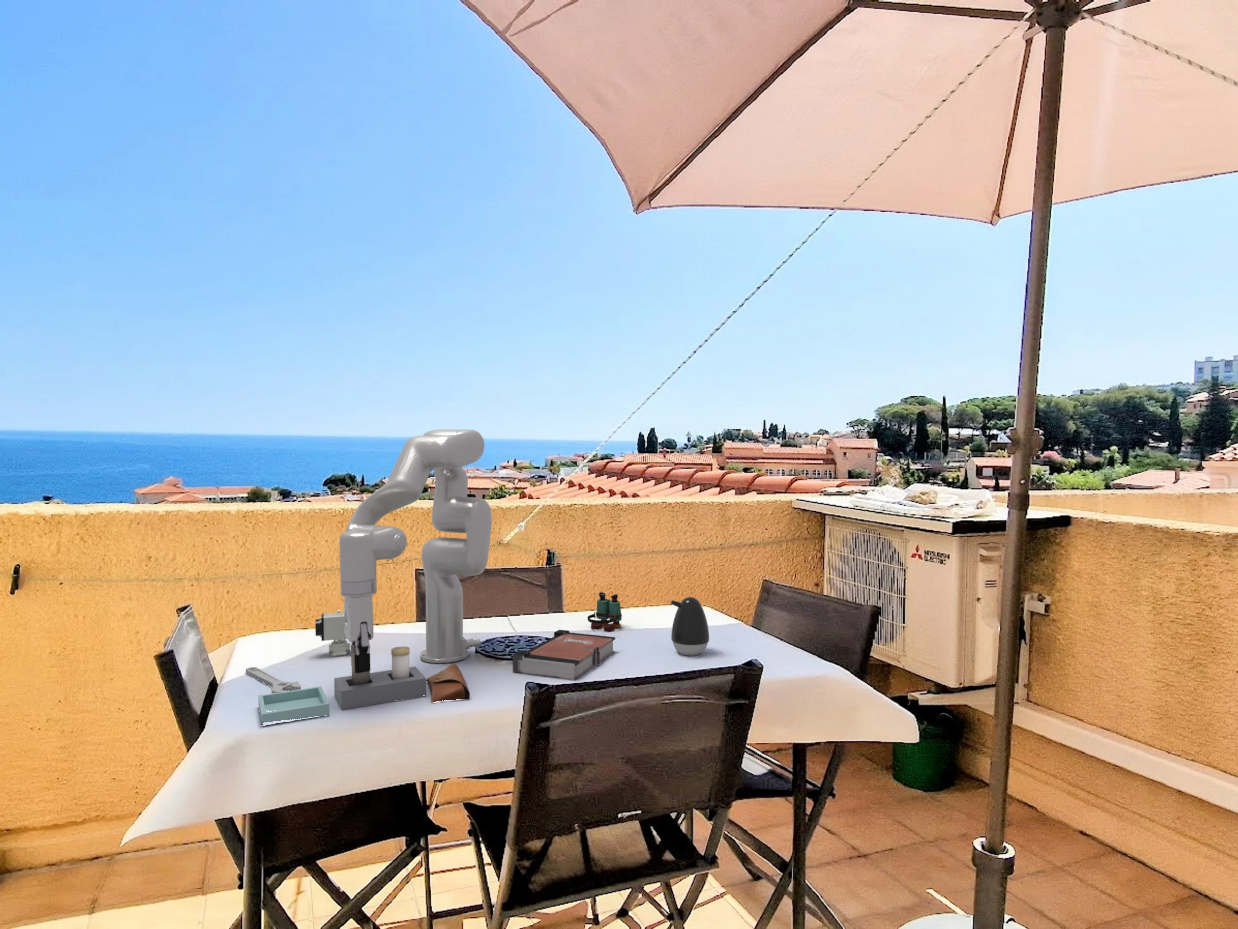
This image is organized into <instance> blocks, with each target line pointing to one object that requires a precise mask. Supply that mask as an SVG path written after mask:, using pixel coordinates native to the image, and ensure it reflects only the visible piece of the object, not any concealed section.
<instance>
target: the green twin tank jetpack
mask: <svg viewBox="0 0 1238 929" xmlns="http://www.w3.org/2000/svg"><path fill="white" fill-rule="evenodd" d="M618 595H619V594H617V593H616V594H613V595H611V596H610V599H607V598H606V596H607V595H606V593H605V592H603V591H599V592H598V597H599V599H597V600H596V611H593V613H592V614H590V615H588V616H587V621H588V622H589V623H590V629H592V630H594V631H596V630H597V631H598V630H601V629H602V628H603V632H611V631H613V630H615V629H618V628H621V627H622V624H621V623H620V622H621V621H622V620H623V619H622V617H623V615H622V608H621V602H620V601H619V600H618V598H619V596H618Z"/></svg>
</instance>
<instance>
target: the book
mask: <svg viewBox="0 0 1238 929" xmlns="http://www.w3.org/2000/svg"><path fill="white" fill-rule="evenodd" d="M615 640H616V637H615V636H607V635H599V634H598V635H597V634H590V633H589V634H588V633H577V632H570V630H566V629H558V630H556V631H554V632H553V636H552V637H551V638H549V639H547V640H545V641H543V642H542V643H539V644H538V645H536V646H534V647H532V648H531V649H528V650H527V651H521V650H518V651H517V652H514V653H513V654H512V673H513V674H519V675H529V676H535V677H543V678H550V679H559V680H566V681H574V682H575V681H577V680H578V679H579V678H580V677H582V676H583V675H585V674H586V673H588V672H589V671H591V670H592V669H593V668H594V667H598V666H599V665H600V664H601V662H604V660H606V659H607V658H609V656H611V655H612V654H614V653H616V651H615V650H614V641H615Z"/></svg>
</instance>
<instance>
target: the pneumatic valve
mask: <svg viewBox="0 0 1238 929" xmlns="http://www.w3.org/2000/svg"><path fill="white" fill-rule="evenodd" d="M314 622H315V625H314V626H315V632H314V633H315V637H320V638H321V642H324V641H331V644H329V645H328V654H330V655H331V657H333V656H335V657H344V655H345V656H348V653H351V642H348V639H347V637H346V636H345V634H344V611H342V610H341V609H337V611H336V612H329V613H321V616H320V618H317V619H315V621H314Z"/></svg>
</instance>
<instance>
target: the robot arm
mask: <svg viewBox="0 0 1238 929" xmlns="http://www.w3.org/2000/svg"><path fill="white" fill-rule="evenodd" d="M484 440H485V439H484V438H483V436H482V434H481V433H480V432H478V431H477V430H474V429H433V430H429V431H427V432H425V433H424V434H423V435H415V436H412V437H410V438H408V439H407V440H406V442H405V443H404V445H403V446H402V449H401V451H400V454H399V456H398V457H397V460H396V461H395V464H394V466H393V468H392V470H391V472H390V475H389V477H388V478H387V481H386V483H385V484H384V485H383V486H380V487H379V488H378V489H376V490H375V491H374V492H373V493H372V494H371V495H369V496H368V497H367V498H366V499H364V500H363V501H362V502H361V503H359V505H358V506H357V507H356V509H355V511H354V512H353V514H352V516H351V518H350V520H349V522H348V523H347V526H346V529H345V531H344V532H342V533H341V535H340V536H339V544H338V545H339V572H340V573H339V574H340V575H339V576H340V577H339V578H340V580H339V581H340V596H341V597H344V600H343V602H344V603H343V605H344V606H343V612H344V634H345V636H346V637H347V639H346V640H347V641H348V642H349V643H350V646H351V645H352V644H355V647H356V655H354V658H355V673H362V672H368V671H370V672H371V653H370V651H371V650H370V649H371V647H370V648H369V644H370V641H371V640H373V638H374V607H373V606H374V605H373V595H377V593H378V588H377V585H378V584H377V562H378V561H383V560H393V559H396V558H398V557H400V556H401V555H402V554H404V552H405V550H406V548H407V543H408V540H407V536H406V533H405V532H404V531H403V530H402V529H400V528H398V527H395V526H393V525H392V526H390V525H376V524H377V523H378V521H380V520H381V519H382V518H383V517H385V516H386V515H388V514H390V513H391V512H394V511H396V510H399V509H401V508H404V507H407V506H410V505H412V504H413V503H415V502H417V501H418V500H419V499H420V497H421V496H422V492H423V490H424V488H425V486H426V484H427V482H428V478H429V476H430V475H431V472H432V471H433V473H434V477H435V478H434V480H435V482H434V483H435V484H434V495H433V504H432V513H431V522H432V526H433V527H434V529H435V530H436V531H439V532H444V533H452V534H466V538H463V537H461V538H460V537H445V536H443V537H442V536H441V537H434V538H430V539H429V540H428V541H426V543H425V544H424V545H423V547H422V549H421V555H420V556H421V563H422V568H423V573H424V581H425V582H424V583H425V649H424V650H423V651H421V652H420V655H419V658H420V659H421V661H423V662H426V663H431V664H449V663H455V662H460V661H463V660H465V659H467V658H468V657H469V656H470V651H469V649H470V648H477V647H478V648H479V647H481V646H482V639H480V638H476V639H474V638H468V639H467V638H465V637H464V603H463V602H464V590H463V586H462V584H461V581H460V579H459V578H458V576H470V577H473V576H479V575H481V574H482V573H483V572H485V569H486V567H487V565H488V561H489V560H488V559H489V554H490V544H491V534H492V533H491V532H492V522H493V516H492V514H493V513H492V509H491V506H490V505H489V503H488V501H486V500H485V499H484V498H482V497H481V498H480V497H476V496H475V497H474V496H473V497H469V496H468V485H469V480H468V479H469V478H468V475H467V473H466V471H465V469H464V467H465V466H468V465H471V464H473V463H476V462H477V461H479V460H480V459H481V457H482V456H483V454H484V451H485V441H484ZM359 643H361V645H359ZM350 665H351V667H352V661H351V660H350Z"/></svg>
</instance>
